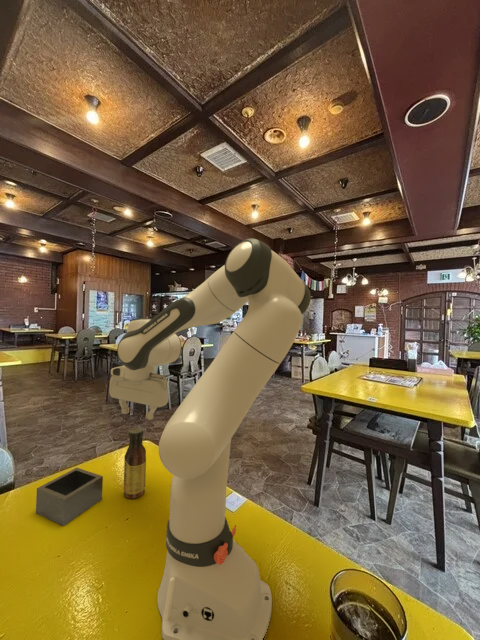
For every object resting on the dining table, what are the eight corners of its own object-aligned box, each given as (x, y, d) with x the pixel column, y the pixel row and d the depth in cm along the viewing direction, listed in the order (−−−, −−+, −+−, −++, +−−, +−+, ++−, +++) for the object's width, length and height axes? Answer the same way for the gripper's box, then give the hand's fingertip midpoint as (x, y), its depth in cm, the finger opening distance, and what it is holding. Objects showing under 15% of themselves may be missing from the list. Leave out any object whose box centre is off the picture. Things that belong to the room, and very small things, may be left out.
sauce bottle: (128, 486, 90) (131, 424, 90) (148, 488, 89) (150, 425, 89) (119, 499, 83) (121, 433, 83) (139, 501, 83) (142, 434, 83)
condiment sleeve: (101, 499, 83) (102, 476, 83) (63, 526, 72) (64, 499, 72) (76, 489, 87) (76, 467, 87) (35, 513, 76) (36, 488, 76)
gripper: (173, 373, 85) (171, 419, 85) (122, 365, 93) (120, 407, 93) (160, 377, 79) (158, 426, 79) (106, 368, 87) (104, 413, 87)
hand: (137, 416), depth 86 cm, fingers open, 8 cm apart
